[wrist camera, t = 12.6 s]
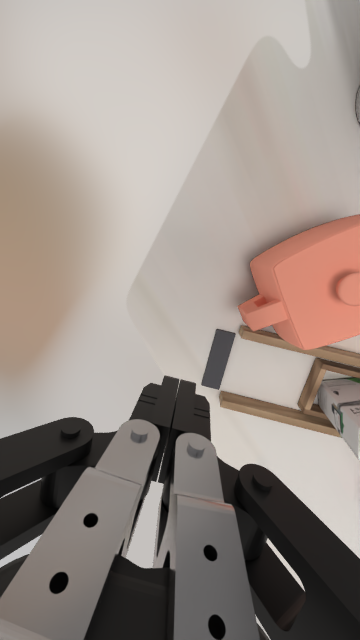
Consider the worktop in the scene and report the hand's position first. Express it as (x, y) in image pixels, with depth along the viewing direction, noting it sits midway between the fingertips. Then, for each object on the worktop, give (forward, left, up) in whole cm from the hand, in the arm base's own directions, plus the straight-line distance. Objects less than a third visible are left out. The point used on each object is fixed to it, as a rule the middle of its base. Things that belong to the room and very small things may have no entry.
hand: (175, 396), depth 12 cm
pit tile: (+9, +6, -29) cm, 31 cm away
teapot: (-7, +15, -29) cm, 34 cm away
